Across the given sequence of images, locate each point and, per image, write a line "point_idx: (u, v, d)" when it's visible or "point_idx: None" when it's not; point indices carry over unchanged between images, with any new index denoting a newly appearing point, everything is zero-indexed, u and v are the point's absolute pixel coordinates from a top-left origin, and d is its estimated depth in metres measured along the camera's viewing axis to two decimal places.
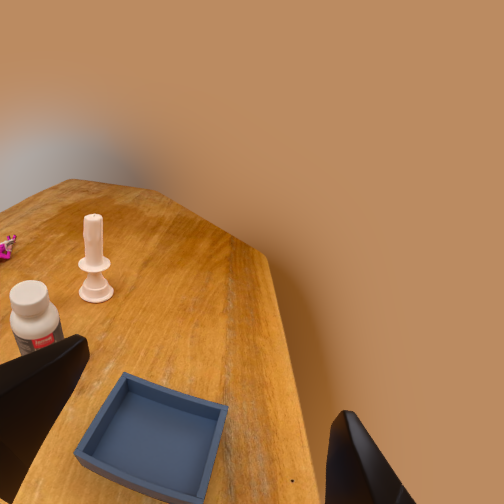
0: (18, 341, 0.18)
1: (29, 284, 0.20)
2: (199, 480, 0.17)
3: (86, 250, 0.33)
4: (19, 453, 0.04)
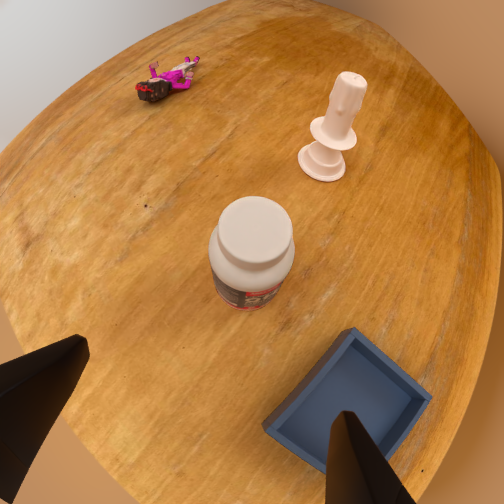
0: (219, 281, 0.18)
1: (256, 208, 0.15)
2: None
3: (330, 117, 0.22)
4: (19, 453, 0.04)
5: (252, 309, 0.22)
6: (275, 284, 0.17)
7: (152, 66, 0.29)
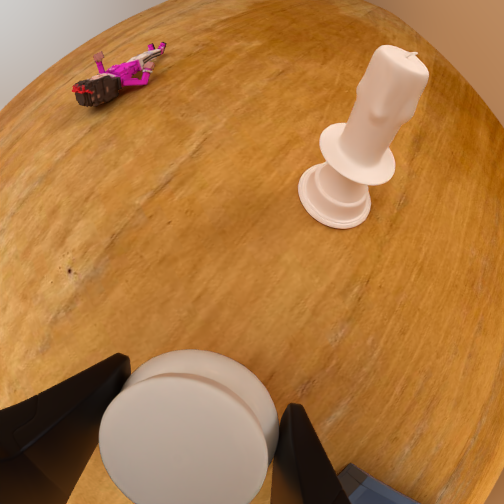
0: None
1: (180, 414, 0.05)
2: None
3: (356, 127, 0.12)
4: (61, 483, 0.04)
5: None
6: None
7: (95, 58, 0.18)
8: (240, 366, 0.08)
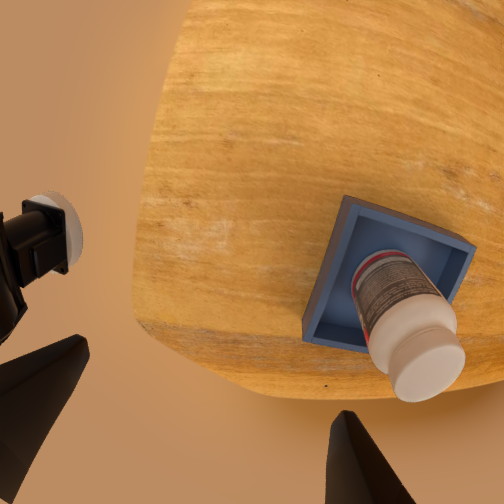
0: (382, 302, 0.14)
1: (450, 372, 0.10)
2: (339, 323, 0.21)
3: None
4: (19, 453, 0.04)
5: (352, 295, 0.19)
6: (374, 363, 0.14)
7: None
8: None
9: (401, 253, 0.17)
